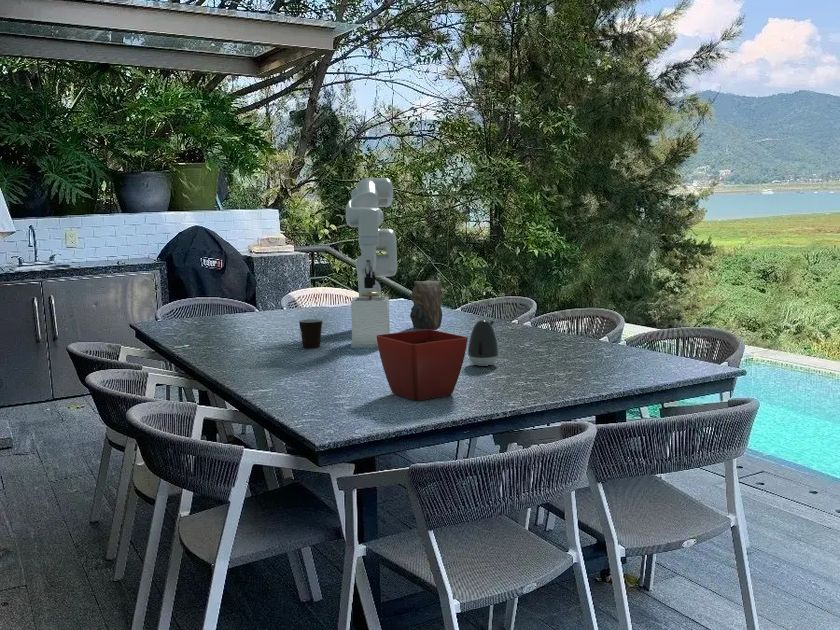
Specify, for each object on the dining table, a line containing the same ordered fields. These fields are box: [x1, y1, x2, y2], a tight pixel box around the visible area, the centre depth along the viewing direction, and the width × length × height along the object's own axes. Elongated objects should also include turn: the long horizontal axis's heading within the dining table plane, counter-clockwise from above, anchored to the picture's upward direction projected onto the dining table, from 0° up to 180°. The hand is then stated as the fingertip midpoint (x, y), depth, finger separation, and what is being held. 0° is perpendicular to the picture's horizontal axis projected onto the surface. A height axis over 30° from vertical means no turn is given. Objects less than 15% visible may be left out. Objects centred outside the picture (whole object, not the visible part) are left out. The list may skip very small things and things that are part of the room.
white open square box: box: [350, 296, 391, 349], centre depth 327 cm, size 14×14×18 cm
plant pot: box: [377, 329, 469, 402], centre depth 242 cm, size 19×19×17 cm
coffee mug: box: [298, 318, 323, 350], centre depth 326 cm, size 12×9×10 cm
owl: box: [409, 279, 443, 331], centre depth 370 cm, size 13×13×20 cm
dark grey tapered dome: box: [467, 319, 500, 367], centre depth 284 cm, size 10×10×15 cm
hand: (370, 286), depth 326 cm, fingers open, 9 cm apart
